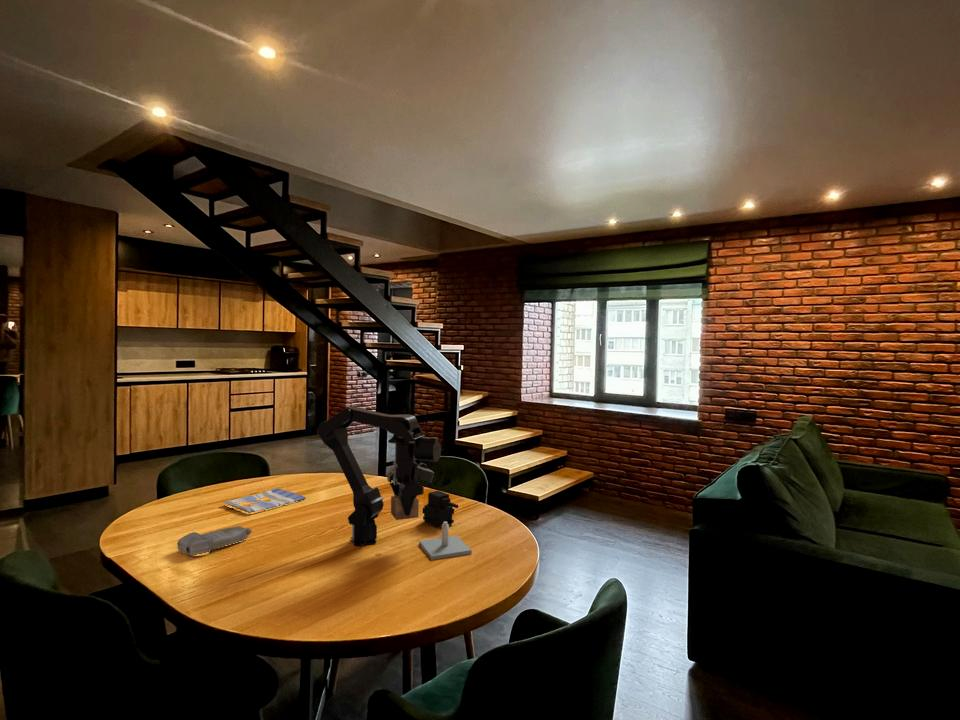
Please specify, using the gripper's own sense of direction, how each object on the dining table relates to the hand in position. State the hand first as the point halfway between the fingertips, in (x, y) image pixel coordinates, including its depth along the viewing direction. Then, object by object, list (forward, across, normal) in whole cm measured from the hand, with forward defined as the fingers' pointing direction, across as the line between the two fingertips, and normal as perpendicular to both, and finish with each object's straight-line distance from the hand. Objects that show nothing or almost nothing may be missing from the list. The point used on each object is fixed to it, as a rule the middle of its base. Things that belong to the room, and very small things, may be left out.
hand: (404, 511), depth 149 cm
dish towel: (+11, +59, +37) cm, 71 cm away
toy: (+11, +14, -17) cm, 25 cm away
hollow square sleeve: (+1, 0, 0) cm, 1 cm away
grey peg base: (+11, -5, -11) cm, 16 cm away
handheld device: (+11, +21, +50) cm, 55 cm away
